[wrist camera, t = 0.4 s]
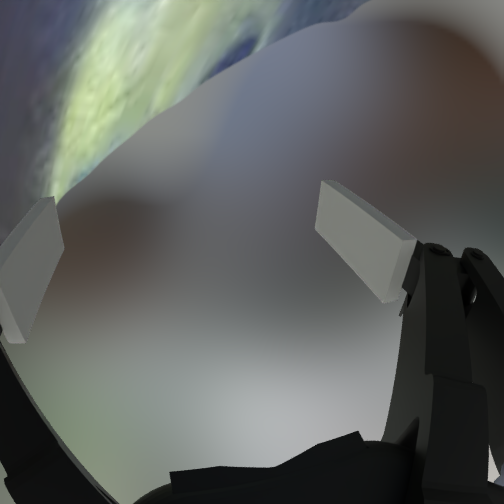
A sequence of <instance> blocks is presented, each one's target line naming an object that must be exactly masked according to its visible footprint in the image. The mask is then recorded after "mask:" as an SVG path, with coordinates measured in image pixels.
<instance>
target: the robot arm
mask: <svg viewBox="0 0 504 504" xmlns="http://www.w3.org/2000/svg"><path fill="white" fill-rule="evenodd" d="M315 230H316V231H317V232H318V233H319V234H320V235H321V236H322V237H323V238H324V239H325V240H326V241H327V242H328V243H329V244H330V246H331V247H332V248H333V249H334V250H335V251H336V252H337V253H338V254H339V255H340V256H341V257H342V258H343V260H344V261H345V262H346V263H347V264H348V265H349V266H350V267H351V268H352V269H353V270H354V271H355V273H356V274H357V275H358V276H359V277H360V278H361V279H362V280H363V282H365V284H366V285H367V286H368V287H369V288H370V289H371V290H372V292H373V293H374V294H375V295H376V296H377V297H378V298H379V300H380V301H381V302H382V303H388V302H392V301H397V300H398V297H399V294H400V291H401V289H402V288H403V289H404V290H405V291H406V292H407V295H406V298H405V301H404V304H403V306H402V309H401V311H400V314H399V316H402V314H403V322H402V332H401V339H400V347H399V348H400V349H399V355H398V362H397V369H396V375H395V381H394V387H393V393H392V398H391V403H390V408H389V414H388V418H387V422H386V427H385V431H384V435H383V437H382V440H381V441H363V439H362V437H361V435H360V433H359V431H356V432H353V433H350V434H347V435H345V436H341V437H338V438H336V439H332V440H329V441H326V442H323V443H319V444H317V445H315V446H313V447H312V448H310V449H308V450H306V451H304V452H303V453H301V454H299V455H297V456H295V457H294V458H292V459H290V460H288V461H286V462H284V463H282V464H280V465H278V466H276V467H270V468H256V467H255V468H254V467H227V466H216V467H210V468H202V469H193V470H184V471H174V472H169V473H170V479H171V483H169V484H166V485H163V486H161V487H159V488H157V489H155V490H152V491H150V492H149V493H147V494H145V495H144V496H142V497H141V498H140V499H138V500H137V501H136V502H135V503H134V504H504V278H503V276H502V275H501V273H500V272H499V271H498V269H497V268H496V266H495V265H494V264H493V262H492V261H491V260H490V258H489V257H488V256H487V255H486V254H484V253H483V252H482V251H481V250H479V249H476V248H465V249H464V252H463V254H462V257H461V258H455V257H453V255H452V253H451V252H450V251H449V250H448V249H447V248H445V247H443V246H442V245H439V244H434V243H426V244H422V243H421V242H420V241H418V240H417V239H416V238H415V237H414V236H412V235H411V234H410V233H409V232H407V231H406V230H404V229H403V228H402V227H401V226H399V225H398V224H396V223H395V222H393V221H392V220H391V219H390V218H388V217H387V216H386V215H384V214H383V213H381V212H380V211H379V210H377V209H376V208H374V207H373V206H372V205H370V204H368V203H367V202H366V201H364V200H363V199H362V198H360V197H359V196H357V195H356V194H354V193H353V192H351V191H350V190H348V189H347V188H345V187H344V186H342V185H341V184H339V183H338V182H336V181H334V180H322V182H321V189H320V196H319V203H318V211H317V217H316V224H315ZM63 250H64V244H63V240H62V235H61V231H60V226H59V222H58V216H57V210H56V205H55V199H54V196H53V197H46V198H40V199H39V200H38V201H37V203H36V204H35V205H34V206H33V207H32V208H31V209H30V210H29V212H28V213H27V214H26V215H25V216H24V218H23V219H22V220H21V221H20V222H19V224H18V225H17V226H16V227H15V228H14V230H13V231H12V232H11V233H10V235H9V236H8V237H7V239H6V240H5V241H4V242H3V244H2V245H1V246H0V335H1V333H2V331H3V333H4V335H5V337H6V338H7V340H8V342H9V343H26V342H27V339H28V336H29V333H30V330H31V327H32V325H33V321H34V319H35V316H36V314H37V311H38V309H39V306H40V303H41V301H42V298H43V296H44V293H45V291H46V289H47V286H48V284H49V281H50V279H51V277H52V274H53V272H54V270H55V268H56V266H57V263H58V261H59V259H60V257H61V255H62V253H63ZM476 294H477V295H476ZM475 296H476V299H475V301H474V303H473V300H474V298H475ZM489 446H490V450H491V454H492V456H493V459H494V462H495V465H496V468H497V470H498V472H499V474H500V476H499V477H498V478H497V479H496V480H495V481H494V483H492V482H489V481H488V462H489V461H488V460H489ZM0 461H1V463H2V465H3V467H4V469H5V471H6V473H7V477H6V478H4V482H5V485H6V487H7V489H8V492H9V493H10V495H11V497H12V498H13V500H14V502H15V503H16V504H119V503H118V502H117V501H116V500H115V499H114V498H113V497H112V496H111V495H109V493H108V492H107V491H106V490H104V488H103V487H102V486H101V485H100V484H99V483H98V482H97V481H96V480H95V479H94V478H93V477H92V476H91V474H90V473H89V472H88V471H87V470H86V469H85V468H84V466H83V465H82V464H81V463H80V462H79V461H78V459H77V458H76V457H75V456H74V455H73V453H72V452H71V451H70V450H69V448H68V447H67V446H66V445H65V443H64V442H63V441H62V439H61V438H60V437H59V436H58V434H57V433H56V432H55V430H54V429H53V428H52V426H51V425H50V423H49V422H48V421H47V419H46V417H45V416H44V415H43V413H42V412H41V410H40V409H39V407H38V406H37V404H36V403H35V401H34V399H33V398H32V397H31V395H30V393H29V392H28V390H27V388H26V387H25V385H24V383H23V382H22V380H21V378H20V377H19V375H18V373H17V371H16V370H15V368H14V366H13V364H12V362H11V360H10V359H9V357H8V355H7V353H6V351H5V349H4V347H3V346H2V344H1V342H0Z"/></svg>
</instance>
